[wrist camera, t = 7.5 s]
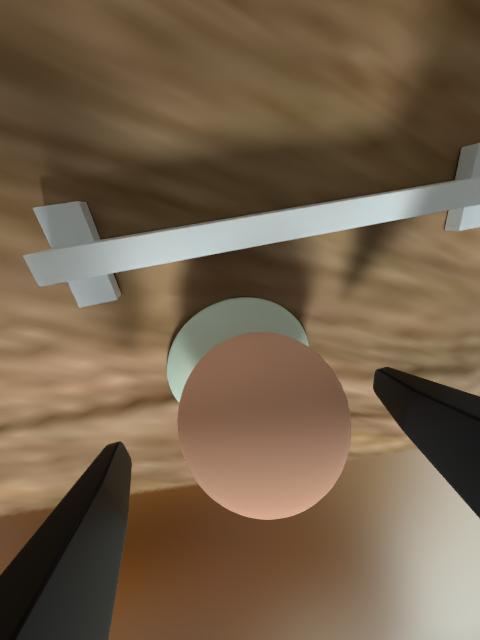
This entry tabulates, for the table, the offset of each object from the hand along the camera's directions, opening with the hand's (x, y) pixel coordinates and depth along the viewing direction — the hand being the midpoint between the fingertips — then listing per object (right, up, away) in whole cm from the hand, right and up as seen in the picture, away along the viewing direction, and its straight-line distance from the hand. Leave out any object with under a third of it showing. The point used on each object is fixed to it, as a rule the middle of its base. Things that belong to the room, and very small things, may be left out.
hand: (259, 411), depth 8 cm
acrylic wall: (+1, +7, +1) cm, 7 cm away
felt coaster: (-1, +1, +3) cm, 3 cm away
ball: (-1, +1, +2) cm, 3 cm away
